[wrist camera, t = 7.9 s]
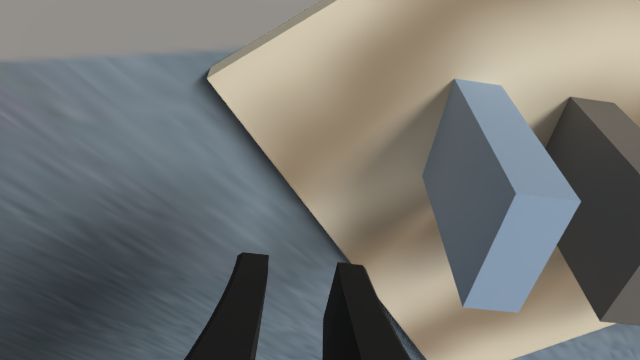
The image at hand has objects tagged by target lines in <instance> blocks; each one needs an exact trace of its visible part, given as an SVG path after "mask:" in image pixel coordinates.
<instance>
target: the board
mask: <svg viewBox="0 0 640 360" xmlns="http://www.w3.org/2000/svg"><path fill="white" fill-rule="evenodd" d="M207 79H208V81H209V82H210V83H211V85H212V86H213V87H214V88H215V90H216V91H217V92H218V94H219V95H220V96H221V97H222V99H223V100H224V101H225V103H226V104H227V105H228V106H229V108H230V109H231V110H232V111H233V113H234V114H235V115H236V117H237V118H238V119H239V120H240V122H241V123H242V124H243V126H244V127H245V128H246V129H247V131H248V132H249V133H250V134H251V136H252V137H253V138H254V140H255V141H256V142H257V143H258V145H259V146H260V147H261V149H262V150H263V151H264V152H265V154H266V155H267V156H268V158H269V159H270V160H271V161H272V163H273V164H274V165H275V166H276V168H277V169H278V170H279V172H280V173H281V174H282V175H283V177H284V178H285V179H286V181H287V182H288V183H289V184H290V186H291V187H292V188H293V189H294V191H295V192H296V193H297V195H298V196H299V197H300V198H301V200H302V201H303V202H304V204H305V205H306V206H307V207H308V209H309V210H310V211H311V212H312V214H313V215H314V216H315V218H316V219H317V220H318V221H319V223H320V224H321V225H322V227H323V228H324V229H325V230H326V232H327V233H328V234H329V236H330V237H331V238H332V239H333V241H334V242H335V243H336V244H337V246H338V247H339V248H340V250H341V251H342V252H343V253H344V255H345V256H346V257H347V259H348V260H349V261H350V262H351V264H358V265H363V266H364V267H365V269H366V271H367V273H368V276H369V278H370V280H371V283H372V285H373V287H374V290H375V292H376V294H377V296H378V298H379V299H380V301H381V302H382V303H383V305H384V306H385V307H386V308H387V310H388V311H389V312H390V314H391V315H392V316H393V317H394V319H395V320H396V321H397V322H398V324H399V325H400V326H401V328H402V329H403V330H404V331H405V333H406V334H407V335H408V337H409V338H410V339H411V340H412V342H413V343H414V344H415V345H416V347H417V348H418V349H419V351H420V352H421V353H422V354H423V356H424V357H425V358H426V360H511V359H514V358H517V357H520V356H523V355H526V354H529V353H532V352H534V351H537V350H540V349H543V348H546V347H549V346H552V345H555V344H558V343H561V342H564V341H566V340H569V339H572V338H575V337H578V336H581V335H584V334H587V333H590V332H593V331H596V330H599V329H601V328H604V327H607V326H610V325H613V324H616V323H609V322H600V321H599V319H598V317H597V316H596V314H595V312H594V310H593V309H592V307H591V305H590V303H589V301H588V300H587V298H586V296H585V294H584V293H583V291H582V289H581V287H580V286H579V284H578V282H577V280H576V278H575V277H574V275H573V273H572V271H571V270H570V268H569V266H568V264H567V263H566V261H565V259H564V257H563V255H562V254H561V252H560V250H559V248H558V247H557V245H556V247H555V249H554V250H553V252H552V254H551V256H550V258H549V259H548V261H547V263H546V265H545V266H544V268H543V270H542V272H541V274H540V275H539V277H538V279H537V281H536V282H535V284H534V286H533V288H532V289H531V291H530V293H529V295H528V297H527V298H526V300H525V302H524V304H523V305H522V307H521V309H520V311H519V313H516V312H505V311H495V310H485V309H474V308H464V307H462V304H461V300H460V297H459V294H458V291H457V287H456V284H455V281H454V278H453V274H452V271H451V268H450V265H449V261H448V258H447V255H446V252H445V249H444V245H443V242H442V239H441V236H440V232H439V229H438V226H437V223H436V219H435V216H434V213H433V210H432V206H431V203H430V200H429V197H428V193H427V190H426V187H425V184H424V181H423V177H422V175H423V172H424V169H425V166H426V163H427V160H428V157H429V154H430V151H431V148H432V145H433V142H434V139H435V136H436V133H437V130H438V127H439V124H440V121H441V118H442V115H443V112H444V109H445V106H446V103H447V100H448V97H449V94H450V91H451V88H452V85H453V82H454V79H461V80H468V81H475V82H482V83H489V84H496V85H501V86H502V87H503V89H504V90H505V91H506V93H507V94H508V96H509V97H510V99H511V100H512V102H513V103H514V105H515V106H516V107H517V109H518V110H519V112H520V113H521V115H522V116H523V118H524V119H525V121H526V122H527V123H528V125H529V126H530V128H531V129H532V131H533V132H534V134H535V135H536V137H537V138H538V139H539V141H540V142H541V144H542V145H543V147H544V148H546V146H547V144H548V141H549V139H550V137H551V135H552V133H553V131H554V129H555V127H556V125H557V123H558V121H559V119H560V117H561V114H562V112H563V110H564V108H565V106H566V104H567V102H568V100H569V98H570V97H577V98H584V99H591V100H598V101H604V102H611V103H615V104H616V105H617V106H618V107H619V108H620V109H621V110H622V111H623V112H624V113H625V114H626V115H627V116H628V117H629V118H630V119H631V120H632V121H633V122H634V123H635V124H636V125H638V126H639V127H640V0H321V1H319V2H318V3H316V4H314V5H313V6H311V7H310V8H308V9H306V10H305V11H303V12H301V13H300V14H298V15H296V16H295V17H293V18H291V19H290V20H288V21H286V22H285V23H283V24H282V25H280V26H278V27H277V28H275V29H274V30H272V31H270V32H268V33H267V34H265V35H263V36H262V37H260V38H258V39H257V40H255V41H254V42H252V43H250V44H248V45H247V46H245V47H244V48H242V49H240V50H239V51H237V52H235V53H234V54H232V55H230V56H229V57H227V58H225V59H224V60H222V61H220V62H219V63H217V64H215V65H214V66H212V67H211V68H210V71H209V74H208V77H207Z"/></svg>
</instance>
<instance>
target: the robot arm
mask: <svg viewBox="0 0 640 360" xmlns="http://www.w3.org/2000/svg"><path fill="white" fill-rule="evenodd" d="M268 258H269V255H262V254H253V253H241V254H239V255H238V256H237V260H236V264H235V267H234V270H233V273H232V275H231V278H230V280H229V282H228V285H227V287H226V289H225V291H224V293H223V295H222V297H221V299H220V301H219V303H218V305H217V307H216V308H215V310H214V312H213V314H212V316H211V318H210V320H209V321H208V323H207V325H206V326H205V328H204V330H203V331H202V333H201V334H200V336H199V338H198V339H197V341H196V342H195V344H194V345H193V347H192V349H191V350H190V352H189V353H188V355H187V356H186V358H185V359H184V360H255V356H256V351H257V344H258V337H259V331H260V324H261V317H262V311H263V304H264V297H265V291H266V284H267V275H268ZM323 360H411V359H410V357H409V355H408V354H407V352H406V350H405V349H404V347H403V345H402V343H401V341H400V340H399V338H398V336H397V334H396V332H395V330H394V328H393V327H392V325H391V323H390V321H389V319H388V317H387V315H386V313H385V311H384V309H383V307H382V305H381V303H380V301H379V298H378V296H377V294H376V292H375V290H374V287H373V285H372V283H371V280H370V278H369V276H368V273H367V271H366V269H365V267H364V266H363V265H358V264H348V263H339V262H338V263H337V267H336V271H335V275H334V279H333V283H332V287H331V291H330V295H329V299H328V303H327V307H326V310H325V314H324V318H323Z"/></svg>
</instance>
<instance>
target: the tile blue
mask: <svg viewBox="0 0 640 360" xmlns="http://www.w3.org/2000/svg"><path fill="white" fill-rule="evenodd" d="M422 177H423V181H424V184H425V187H426V190H427V193H428V197H429V200H430V203H431V206H432V210H433V213H434V216H435V219H436V223H437V226H438V229H439V232H440V236H441V239H442V242H443V245H444V249H445V252H446V255H447V258H448V261H449V265H450V268H451V271H452V274H453V278H454V281H455V284H456V287H457V291H458V294H459V297H460V300H461V304H462V307H464V308H474V309H485V310H495V311H505V312H516V313H519V311H520V309H521V307H522V305H523V304H524V302H525V300H526V298H527V297H528V295H529V293H530V291H531V289H532V288H533V286H534V284H535V282H536V281H537V279H538V277H539V275H540V274H541V272H542V270H543V268H544V266H545V265H546V263H547V261H548V259H549V258H550V256H551V254H552V252H553V250H554V249H555V247H556V245H557V243H558V242H559V240H560V238H561V236H562V235H563V233H564V231H565V229H566V227H567V226H568V224H569V222H570V220H571V219H572V217H573V215H574V213H575V211H576V210H577V208H578V206H579V204H580V203H581V201H580V199H579V198H578V196H577V195H576V193H575V192H574V190H573V189H572V187H571V186H570V185H569V183H568V182H567V180H566V179H565V177H564V176H563V174H562V173H561V171H560V170H559V169H558V167H557V166H556V164H555V163H554V161H553V160H552V158H551V157H550V155H549V154H548V153H547V151H546V150H545V148H544V147H543V145H542V144H541V142H540V141H539V139H538V138H537V137H536V135H535V134H534V132H533V131H532V129H531V128H530V126H529V125H528V123H527V122H526V121H525V119H524V118H523V116H522V115H521V113H520V112H519V110H518V109H517V107H516V106H515V105H514V103H513V102H512V100H511V99H510V97H509V96H508V94H507V93H506V91H505V90H504V89H503V87H502V86H501V85H496V84H489V83H482V82H475V81H468V80H461V79H454V82H453V85H452V88H451V91H450V94H449V97H448V100H447V103H446V106H445V109H444V112H443V115H442V118H441V121H440V124H439V127H438V130H437V133H436V136H435V139H434V142H433V145H432V148H431V151H430V154H429V157H428V160H427V163H426V166H425V169H424V172H423V175H422Z"/></svg>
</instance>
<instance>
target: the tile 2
mask: <svg viewBox="0 0 640 360" xmlns="http://www.w3.org/2000/svg"><path fill="white" fill-rule="evenodd" d="M545 150H546V151H547V153H548V154H549V155H550V157H551V158H552V160H553V161H554V163H555V164H556V166H557V167H558V169H559V170H560V171H561V173H562V174H563V176H564V177H565V179H566V180H567V182H568V183H569V185H570V186H571V187H572V189H573V190H574V192H575V193H576V195H577V196H578V198H579V199H580V201H581V203H580V204H579V206H578V208H577V210H576V211H575V213H574V215H573V217H572V219H571V220H570V222H569V224H568V226H567V227H566V229H565V231H564V233H563V235H562V236H561V238H560V240H559V242H558V243H557V247H558V248H559V250H560V252H561V254H562V255H563V257H564V259H565V261H566V263H567V264H568V266H569V268H570V270H571V271H572V273H573V275H574V277H575V278H576V280H577V282H578V284H579V286H580V287H581V289H582V291H583V293H584V294H585V296H586V298H587V300H588V301H589V303H590V305H591V307H592V309H593V310H594V312H595V314H596V316H597V317H598V319H599V321H600V322H609V323H619V324H630V325H640V127H639V126H638V125H636V124H635V123H634V122H633V121H632V120H631V119H630V118H629V117H628V116H627V115H626V114H625V113H624V112H623V111H622V110H621V109H620V108H619V107H618V106H617V105H616V104H615V103H611V102H604V101H598V100H591V99H584V98H577V97H570V98H569V100H568V102H567V104H566V106H565V108H564V110H563V112H562V114H561V117H560V119H559V121H558V123H557V125H556V127H555V129H554V131H553V133H552V135H551V137H550V139H549V141H548V144H547V146H546V148H545Z"/></svg>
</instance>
